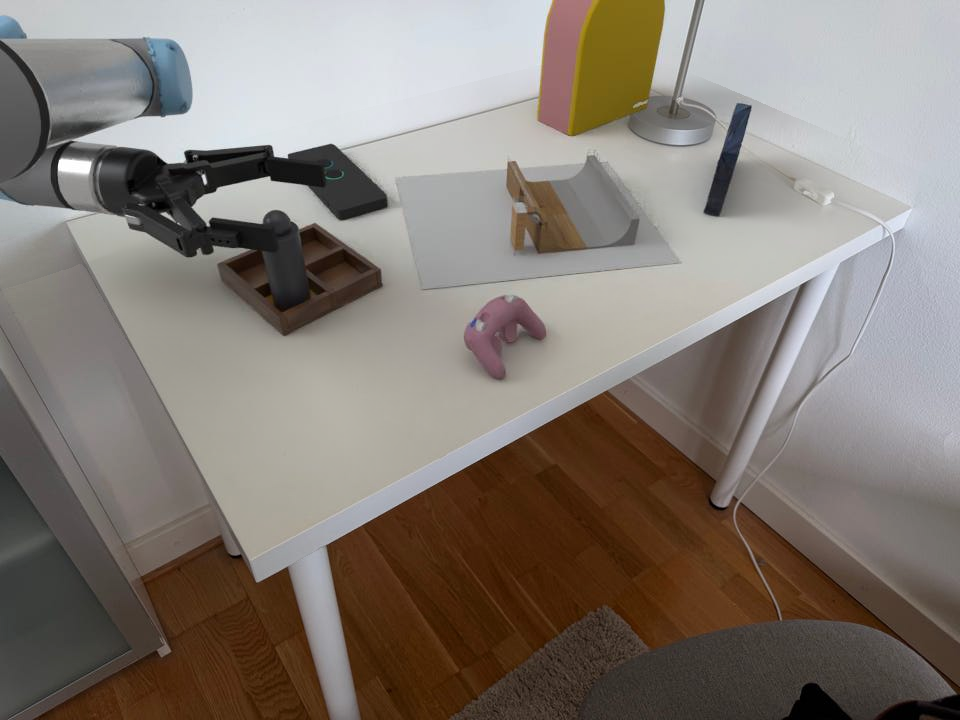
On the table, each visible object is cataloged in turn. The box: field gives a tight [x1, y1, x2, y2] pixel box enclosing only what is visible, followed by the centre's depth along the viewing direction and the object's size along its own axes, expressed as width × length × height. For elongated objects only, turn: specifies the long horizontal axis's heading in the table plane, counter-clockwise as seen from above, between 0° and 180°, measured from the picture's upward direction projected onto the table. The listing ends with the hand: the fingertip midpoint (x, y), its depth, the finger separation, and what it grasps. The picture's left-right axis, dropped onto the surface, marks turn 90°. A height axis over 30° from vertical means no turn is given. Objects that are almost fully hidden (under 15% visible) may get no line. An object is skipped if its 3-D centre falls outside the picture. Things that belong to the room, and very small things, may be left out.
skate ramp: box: [394, 149, 682, 290], centre depth 97 cm, size 29×35×8 cm
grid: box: [216, 222, 383, 337], centre depth 86 cm, size 14×14×3 cm
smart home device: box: [287, 143, 389, 221], centre depth 105 cm, size 8×2×20 cm
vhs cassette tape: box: [703, 102, 753, 217], centre depth 104 cm, size 18×3×10 cm, turn 157°
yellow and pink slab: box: [536, 0, 666, 137], centre depth 118 cm, size 21×9×26 cm, turn 130°
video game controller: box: [463, 294, 547, 380], centre depth 77 cm, size 10×5×7 cm, turn 144°
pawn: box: [262, 209, 311, 312], centre depth 78 cm, size 4×4×12 cm
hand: (301, 205), depth 73 cm, fingers open, 13 cm apart
